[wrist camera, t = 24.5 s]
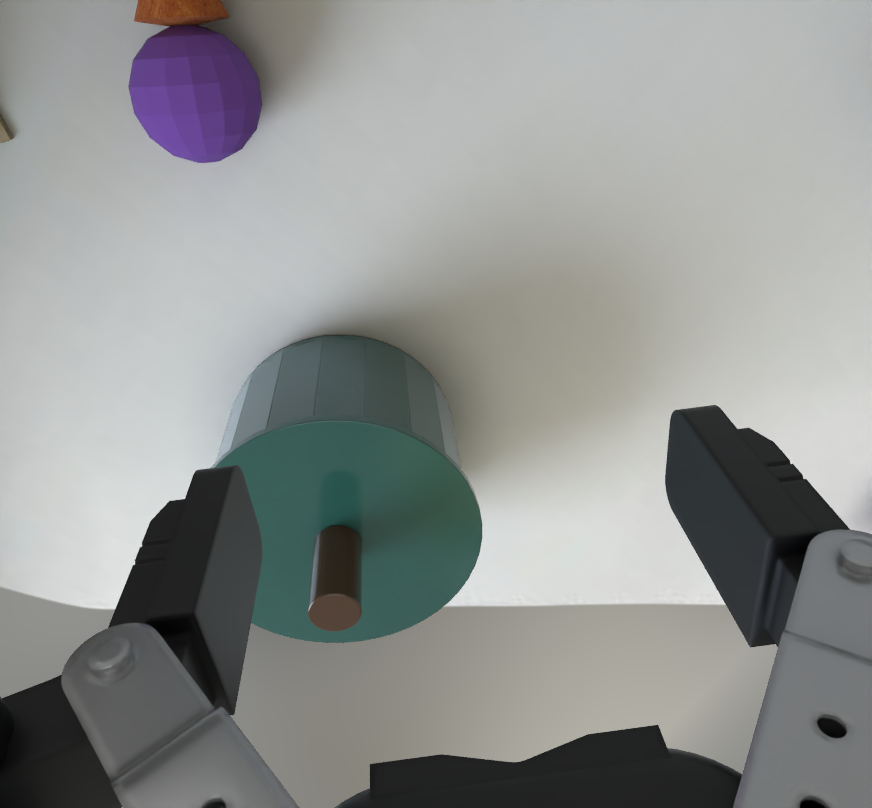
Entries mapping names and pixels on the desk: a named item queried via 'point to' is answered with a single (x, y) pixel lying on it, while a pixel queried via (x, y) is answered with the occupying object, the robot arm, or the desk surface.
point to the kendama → (193, 82)
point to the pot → (342, 390)
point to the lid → (355, 526)
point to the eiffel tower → (4, 132)
